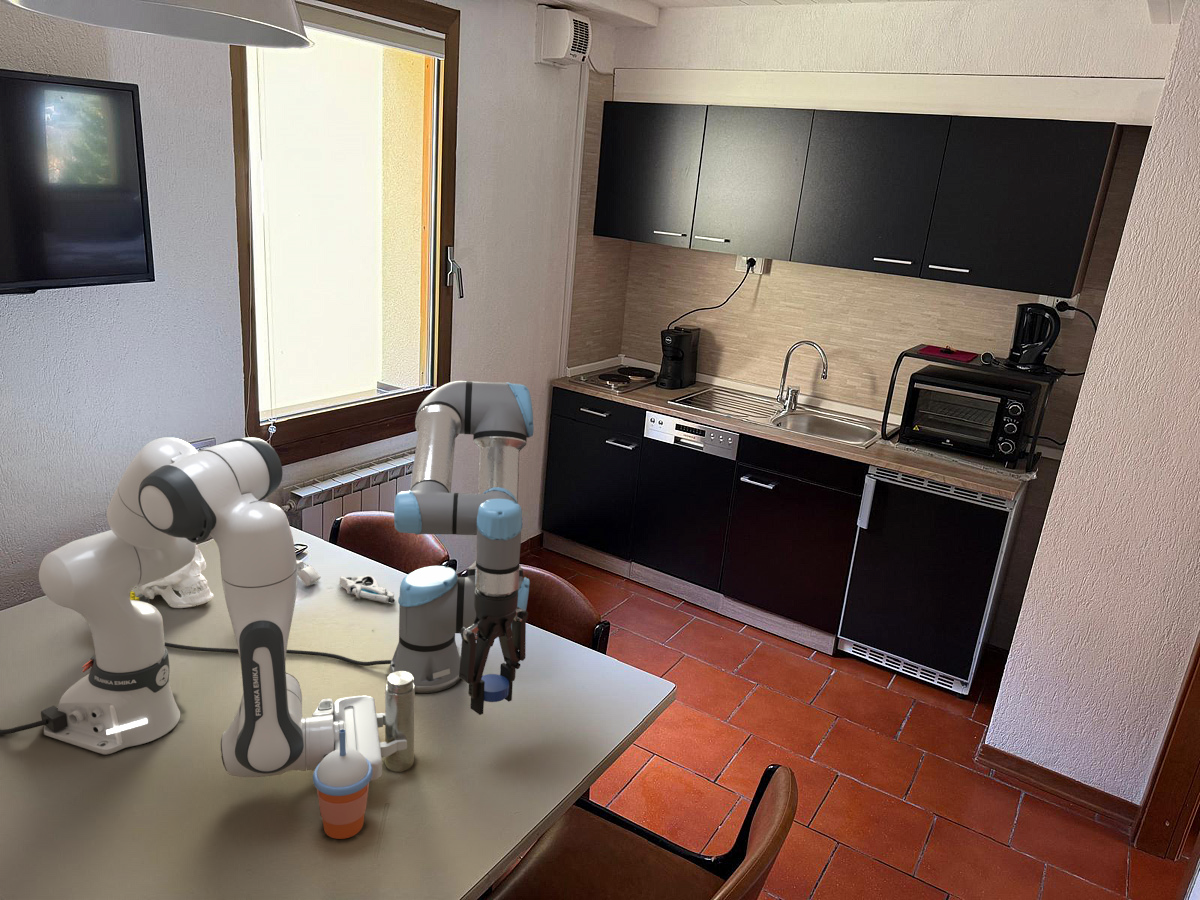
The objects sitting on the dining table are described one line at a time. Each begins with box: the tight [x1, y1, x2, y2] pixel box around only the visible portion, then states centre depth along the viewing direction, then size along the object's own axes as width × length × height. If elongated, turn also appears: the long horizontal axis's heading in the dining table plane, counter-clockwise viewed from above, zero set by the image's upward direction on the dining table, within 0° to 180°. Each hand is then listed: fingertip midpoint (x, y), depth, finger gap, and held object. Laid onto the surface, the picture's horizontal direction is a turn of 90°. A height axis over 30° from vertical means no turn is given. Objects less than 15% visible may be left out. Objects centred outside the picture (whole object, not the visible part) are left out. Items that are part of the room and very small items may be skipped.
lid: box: [481, 673, 509, 703], centre depth 154 cm, size 6×6×2 cm
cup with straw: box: [312, 729, 373, 840], centre depth 136 cm, size 9×9×18 cm
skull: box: [137, 544, 214, 609], centre depth 203 cm, size 13×22×16 cm, turn 73°
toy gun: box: [338, 574, 395, 604], centre depth 214 cm, size 18×2×10 cm
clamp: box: [296, 559, 322, 587], centre depth 219 cm, size 20×4×7 cm, turn 62°
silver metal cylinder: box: [384, 671, 416, 773], centre depth 152 cm, size 5×5×18 cm
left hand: (404, 731), depth 153 cm, fingers closed on silver metal cylinder, 5 cm apart
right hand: (491, 704), depth 155 cm, fingers closed on lid, 6 cm apart
